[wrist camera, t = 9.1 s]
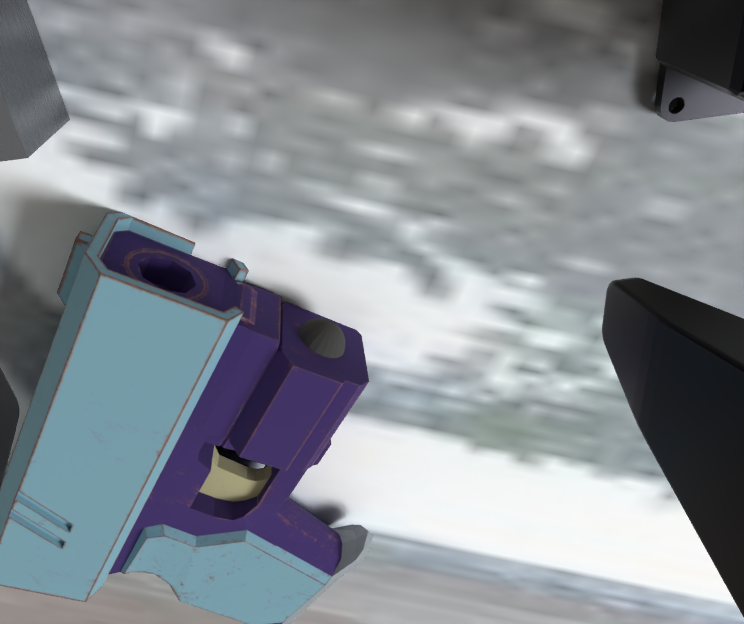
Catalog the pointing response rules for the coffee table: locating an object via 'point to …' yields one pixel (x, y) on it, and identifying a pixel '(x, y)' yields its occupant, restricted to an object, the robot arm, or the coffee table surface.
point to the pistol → (179, 434)
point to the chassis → (25, 85)
